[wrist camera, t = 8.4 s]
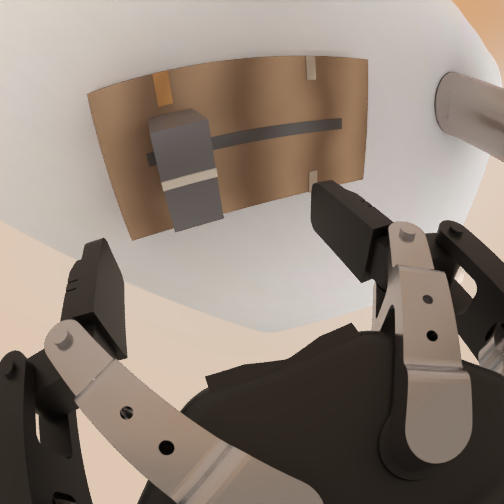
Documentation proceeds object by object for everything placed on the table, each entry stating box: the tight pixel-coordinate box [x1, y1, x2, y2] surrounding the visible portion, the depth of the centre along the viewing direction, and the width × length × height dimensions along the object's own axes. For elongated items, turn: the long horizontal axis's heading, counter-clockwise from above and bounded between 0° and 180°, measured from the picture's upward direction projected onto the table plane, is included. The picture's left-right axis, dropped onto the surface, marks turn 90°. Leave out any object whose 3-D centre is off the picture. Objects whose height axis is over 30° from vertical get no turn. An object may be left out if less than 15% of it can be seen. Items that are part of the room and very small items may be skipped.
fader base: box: [87, 56, 368, 241], centre depth 21 cm, size 22×12×3 cm, turn 96°
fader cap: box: [148, 108, 224, 232], centre depth 17 cm, size 3×6×5 cm, turn 6°
